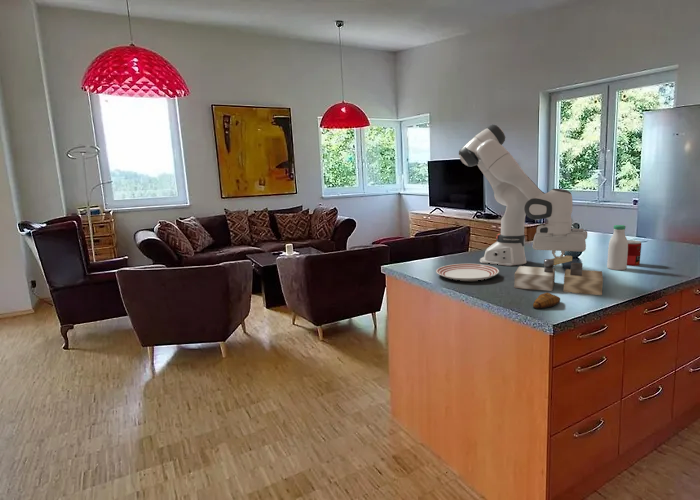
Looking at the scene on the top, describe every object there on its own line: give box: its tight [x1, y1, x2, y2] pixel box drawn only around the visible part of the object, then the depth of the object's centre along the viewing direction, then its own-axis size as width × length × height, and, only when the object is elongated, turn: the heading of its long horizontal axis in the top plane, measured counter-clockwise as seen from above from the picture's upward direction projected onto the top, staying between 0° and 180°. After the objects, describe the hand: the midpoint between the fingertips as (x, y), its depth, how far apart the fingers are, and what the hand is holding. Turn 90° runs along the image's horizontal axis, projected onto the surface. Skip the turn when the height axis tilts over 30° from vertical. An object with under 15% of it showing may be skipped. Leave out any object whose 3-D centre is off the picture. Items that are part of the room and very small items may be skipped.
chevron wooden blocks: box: [513, 262, 604, 296], centre depth 181 cm, size 31×14×11 cm, turn 63°
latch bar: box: [543, 255, 573, 268], centre depth 185 cm, size 16×4×2 cm, turn 122°
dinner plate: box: [435, 263, 500, 282], centre depth 204 cm, size 28×27×3 cm
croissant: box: [532, 292, 561, 309], centre depth 159 cm, size 14×7×5 cm, turn 121°
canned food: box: [627, 239, 642, 267], centre depth 215 cm, size 8×8×11 cm
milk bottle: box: [606, 224, 628, 271], centre depth 206 cm, size 8×8×20 cm
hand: (557, 260), depth 190 cm, fingers closed
